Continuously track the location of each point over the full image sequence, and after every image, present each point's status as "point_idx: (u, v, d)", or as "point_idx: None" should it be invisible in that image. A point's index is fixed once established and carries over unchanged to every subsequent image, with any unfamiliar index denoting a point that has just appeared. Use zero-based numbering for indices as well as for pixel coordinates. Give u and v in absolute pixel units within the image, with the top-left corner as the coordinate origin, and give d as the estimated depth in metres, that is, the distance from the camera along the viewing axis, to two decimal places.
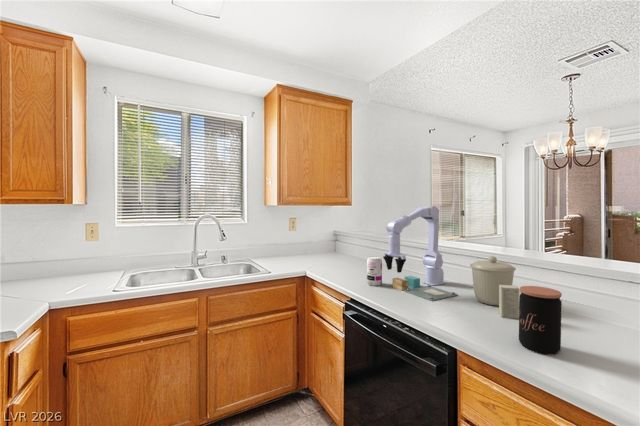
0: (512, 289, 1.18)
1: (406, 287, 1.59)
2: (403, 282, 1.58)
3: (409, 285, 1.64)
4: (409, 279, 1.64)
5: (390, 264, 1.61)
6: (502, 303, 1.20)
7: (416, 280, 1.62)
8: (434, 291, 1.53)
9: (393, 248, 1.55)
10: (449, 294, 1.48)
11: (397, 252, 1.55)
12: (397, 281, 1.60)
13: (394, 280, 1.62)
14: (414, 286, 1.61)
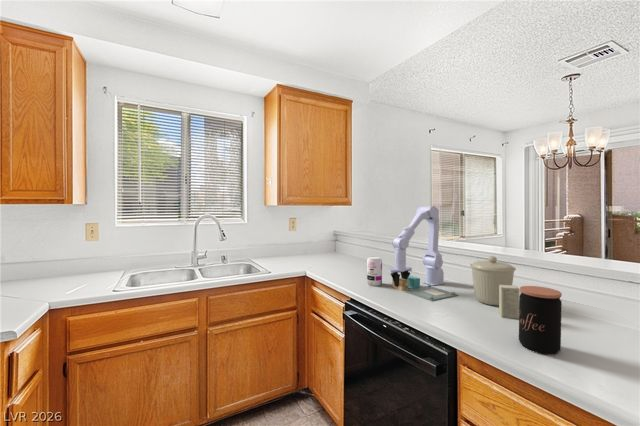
0: (512, 289, 1.18)
1: (406, 287, 1.59)
2: (403, 282, 1.58)
3: (409, 285, 1.64)
4: (409, 279, 1.64)
5: None
6: (502, 303, 1.20)
7: (416, 280, 1.62)
8: (434, 291, 1.53)
9: None
10: (449, 294, 1.48)
11: (395, 267, 1.60)
12: None
13: None
14: (414, 286, 1.61)
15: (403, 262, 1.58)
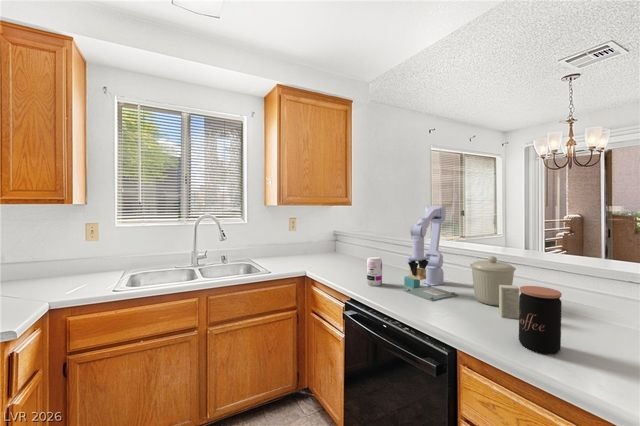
0: (512, 289, 1.18)
1: (424, 276, 1.54)
2: (421, 271, 1.53)
3: (409, 285, 1.64)
4: (409, 279, 1.64)
5: None
6: (502, 303, 1.20)
7: (416, 280, 1.62)
8: (434, 291, 1.53)
9: (412, 251, 1.57)
10: (449, 294, 1.48)
11: (413, 255, 1.55)
12: None
13: None
14: (414, 286, 1.61)
15: (421, 250, 1.53)
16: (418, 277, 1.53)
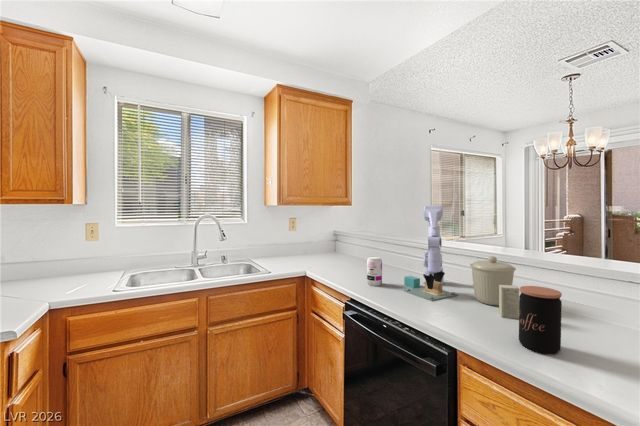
0: (512, 289, 1.18)
1: (441, 290, 1.50)
2: (439, 285, 1.49)
3: (409, 285, 1.64)
4: (409, 279, 1.64)
5: (438, 281, 1.54)
6: (502, 303, 1.20)
7: (416, 280, 1.62)
8: None
9: (428, 263, 1.52)
10: (449, 294, 1.48)
11: (430, 268, 1.50)
12: None
13: None
14: (414, 286, 1.61)
15: (439, 262, 1.49)
16: (436, 291, 1.49)
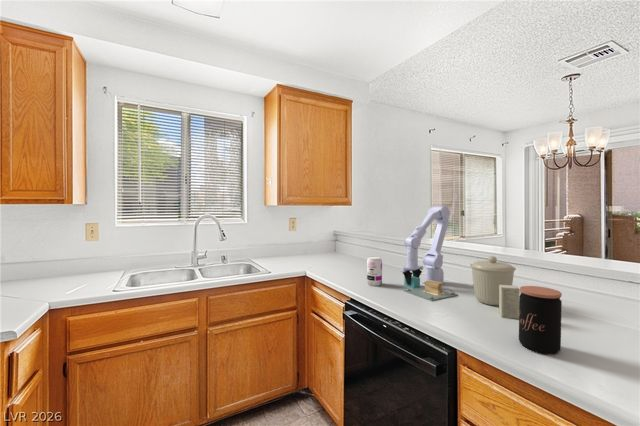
0: (512, 289, 1.18)
1: (441, 290, 1.50)
2: (439, 285, 1.49)
3: (409, 285, 1.64)
4: None
5: None
6: (502, 303, 1.20)
7: (416, 280, 1.62)
8: None
9: None
10: (449, 294, 1.48)
11: (407, 265, 1.64)
12: (432, 284, 1.50)
13: (427, 283, 1.52)
14: (414, 286, 1.61)
15: (415, 261, 1.62)
16: (436, 291, 1.49)
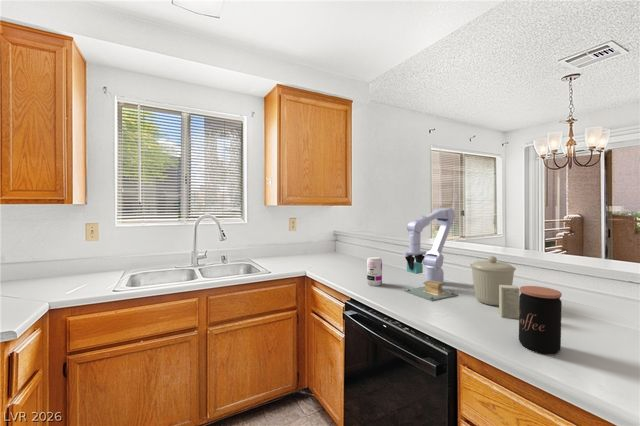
0: (512, 289, 1.18)
1: (441, 290, 1.50)
2: (439, 285, 1.49)
3: (411, 270, 1.62)
4: None
5: None
6: (502, 303, 1.20)
7: (419, 265, 1.60)
8: None
9: (409, 246, 1.64)
10: (449, 294, 1.48)
11: (410, 250, 1.62)
12: (432, 284, 1.50)
13: (427, 283, 1.52)
14: (416, 271, 1.60)
15: (418, 245, 1.60)
16: (436, 291, 1.49)
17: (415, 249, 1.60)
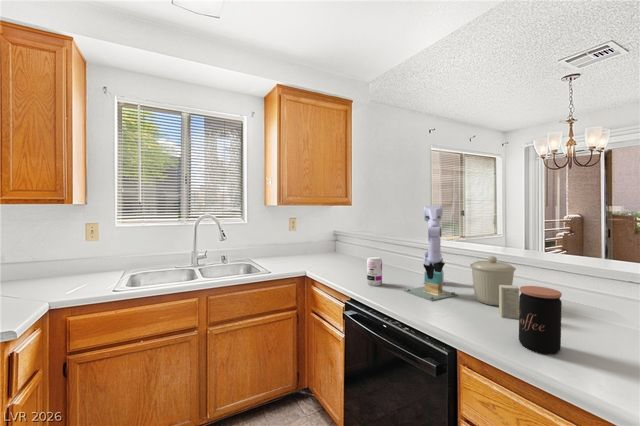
0: (512, 289, 1.18)
1: (441, 290, 1.50)
2: (439, 285, 1.49)
3: (431, 281, 1.50)
4: None
5: (438, 271, 1.54)
6: (502, 303, 1.20)
7: (439, 275, 1.49)
8: None
9: (428, 253, 1.52)
10: (449, 294, 1.48)
11: (430, 258, 1.50)
12: (432, 284, 1.50)
13: (427, 283, 1.52)
14: (438, 281, 1.49)
15: (439, 252, 1.49)
16: (436, 291, 1.49)
17: (436, 256, 1.49)
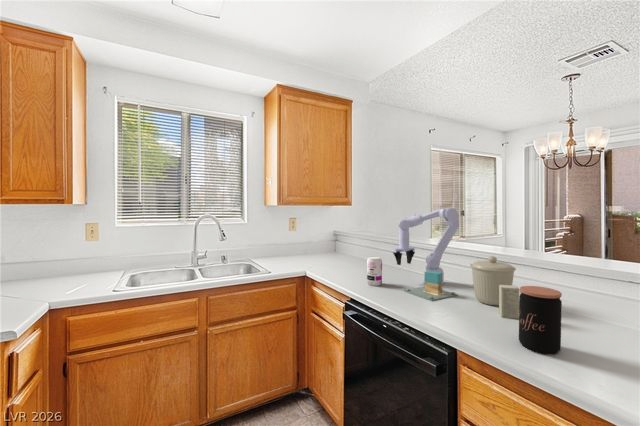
0: (512, 289, 1.18)
1: (441, 290, 1.50)
2: (439, 285, 1.49)
3: (431, 281, 1.50)
4: (431, 274, 1.50)
5: (409, 259, 1.75)
6: (502, 303, 1.20)
7: (439, 275, 1.49)
8: None
9: (399, 242, 1.75)
10: (449, 294, 1.48)
11: (399, 246, 1.73)
12: (432, 284, 1.50)
13: (427, 283, 1.52)
14: (438, 281, 1.49)
15: (407, 242, 1.71)
16: (436, 291, 1.49)
17: (404, 245, 1.71)
